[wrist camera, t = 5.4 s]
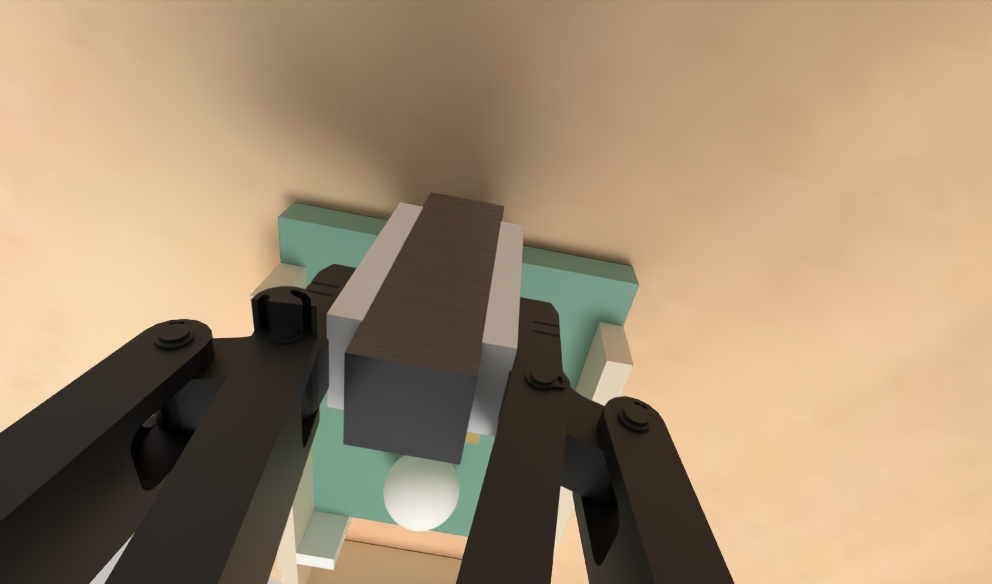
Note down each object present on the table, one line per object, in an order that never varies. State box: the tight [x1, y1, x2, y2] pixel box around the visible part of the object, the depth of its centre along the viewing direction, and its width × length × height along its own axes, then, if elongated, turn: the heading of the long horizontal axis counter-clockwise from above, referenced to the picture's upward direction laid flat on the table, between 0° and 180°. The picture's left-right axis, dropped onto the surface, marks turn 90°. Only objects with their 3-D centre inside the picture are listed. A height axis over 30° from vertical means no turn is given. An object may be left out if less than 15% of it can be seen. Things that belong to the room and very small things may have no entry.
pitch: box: [250, 203, 639, 584], centre depth 25 cm, size 24×14×4 cm, turn 170°
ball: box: [383, 455, 460, 531], centre depth 23 cm, size 4×4×4 cm
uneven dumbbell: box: [343, 192, 504, 465], centre depth 15 cm, size 8×4×9 cm, turn 170°
